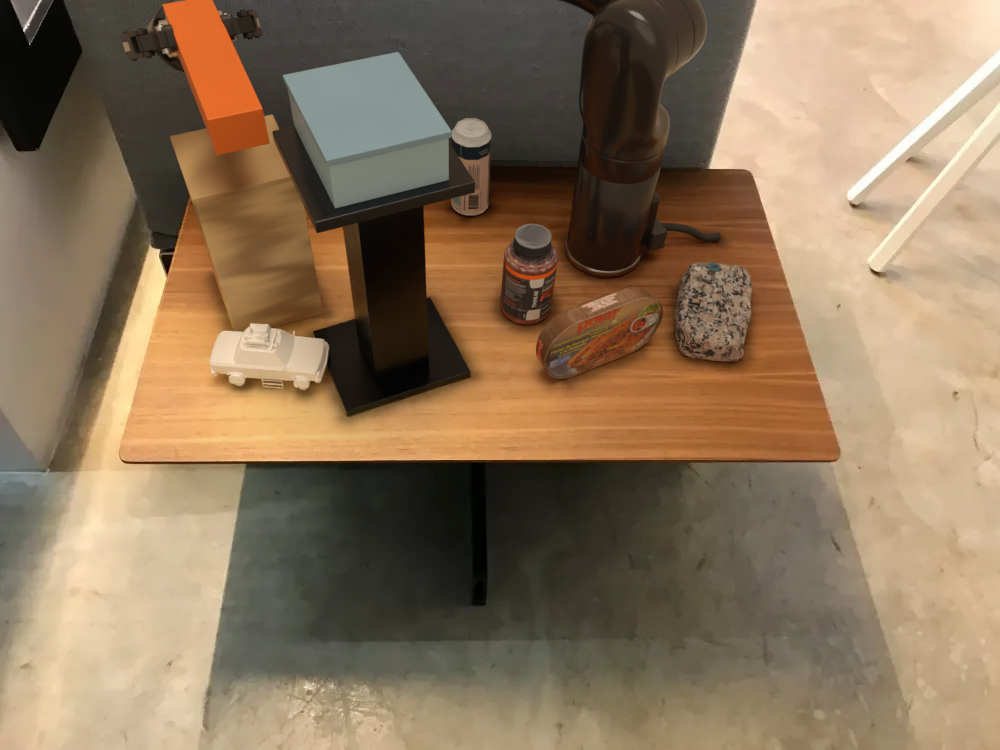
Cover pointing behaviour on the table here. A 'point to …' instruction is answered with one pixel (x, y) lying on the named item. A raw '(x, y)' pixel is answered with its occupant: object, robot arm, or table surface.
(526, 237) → the supplement bottle
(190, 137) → the box
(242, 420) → the table surface
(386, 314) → the shelf stand
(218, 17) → the orange rectangular bar
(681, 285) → the rock
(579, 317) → the tin
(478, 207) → the beer can
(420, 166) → the storage tub
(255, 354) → the toy car
